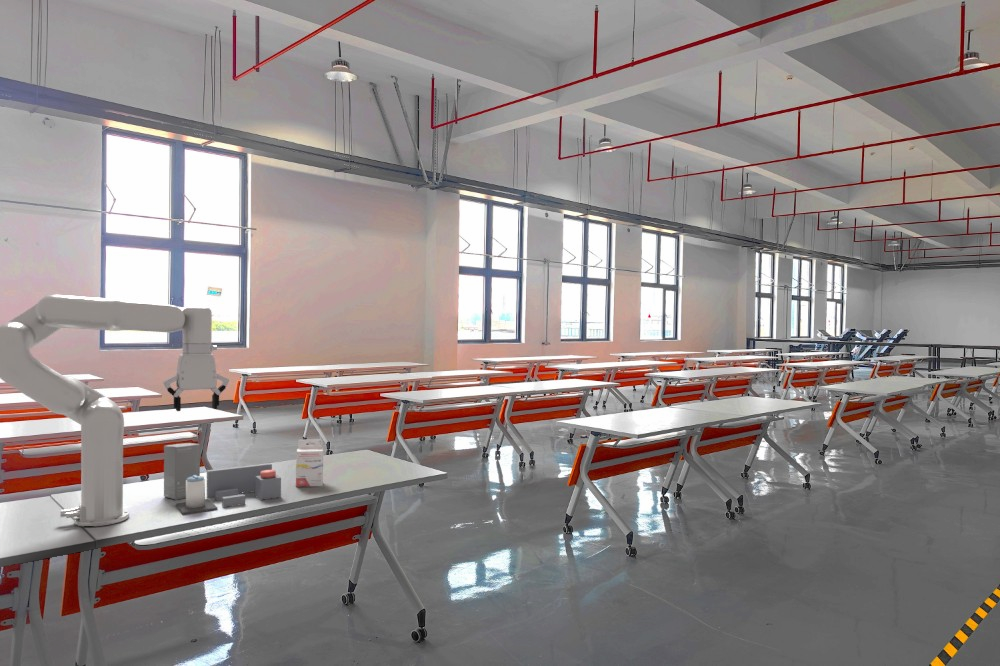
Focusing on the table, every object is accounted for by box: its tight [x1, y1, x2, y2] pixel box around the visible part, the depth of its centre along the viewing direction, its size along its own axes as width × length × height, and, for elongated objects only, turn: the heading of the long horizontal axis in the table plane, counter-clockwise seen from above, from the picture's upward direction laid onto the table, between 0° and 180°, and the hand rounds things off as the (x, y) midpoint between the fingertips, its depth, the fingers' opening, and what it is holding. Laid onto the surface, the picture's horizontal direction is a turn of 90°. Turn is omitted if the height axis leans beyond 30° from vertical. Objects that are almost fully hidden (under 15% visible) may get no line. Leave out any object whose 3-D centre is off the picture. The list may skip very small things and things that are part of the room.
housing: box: [206, 462, 282, 508], centre depth 197 cm, size 19×15×8 cm
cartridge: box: [185, 475, 206, 508], centre depth 186 cm, size 5×5×8 cm
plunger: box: [261, 469, 277, 479], centre depth 199 cm, size 4×4×6 cm
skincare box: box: [163, 442, 201, 501], centre depth 198 cm, size 8×7×16 cm
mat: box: [175, 498, 218, 516], centre depth 186 cm, size 9×11×1 cm
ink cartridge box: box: [295, 438, 324, 488], centre depth 213 cm, size 9×5×15 cm, turn 105°
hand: (196, 409), depth 185 cm, fingers open, 9 cm apart
